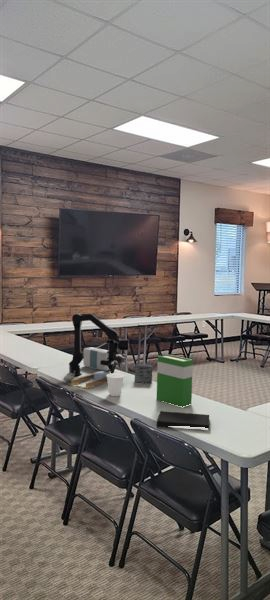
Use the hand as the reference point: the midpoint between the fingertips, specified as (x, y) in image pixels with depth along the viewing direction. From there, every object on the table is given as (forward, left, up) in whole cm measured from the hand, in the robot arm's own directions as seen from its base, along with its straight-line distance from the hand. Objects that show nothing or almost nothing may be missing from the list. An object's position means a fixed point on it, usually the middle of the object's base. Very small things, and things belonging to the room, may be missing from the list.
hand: (112, 373), depth 287 cm
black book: (+77, -47, -2) cm, 90 cm away
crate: (0, -11, -2) cm, 11 cm away
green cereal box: (+58, -23, -2) cm, 62 cm away
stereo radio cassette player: (-21, +11, -2) cm, 24 cm away
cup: (+26, -32, -2) cm, 41 cm away
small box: (+23, +1, -2) cm, 23 cm away
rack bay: (0, -20, -2) cm, 20 cm away
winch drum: (-11, -28, -2) cm, 30 cm away
